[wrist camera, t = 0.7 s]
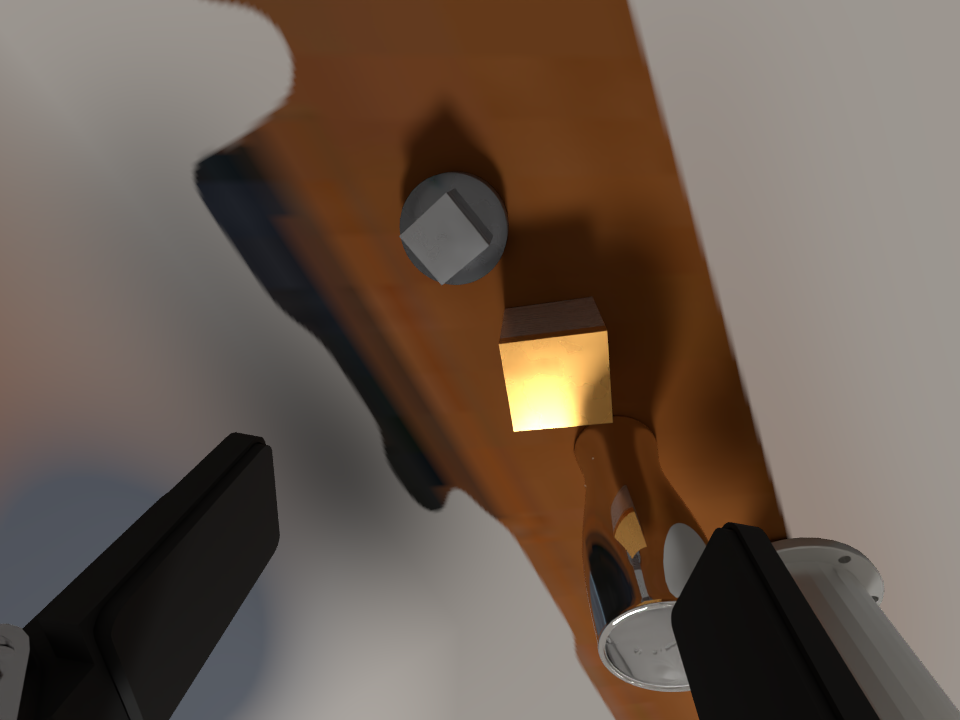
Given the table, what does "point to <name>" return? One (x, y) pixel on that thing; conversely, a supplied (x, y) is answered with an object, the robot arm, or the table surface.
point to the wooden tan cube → (556, 365)
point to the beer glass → (634, 552)
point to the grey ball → (454, 227)
